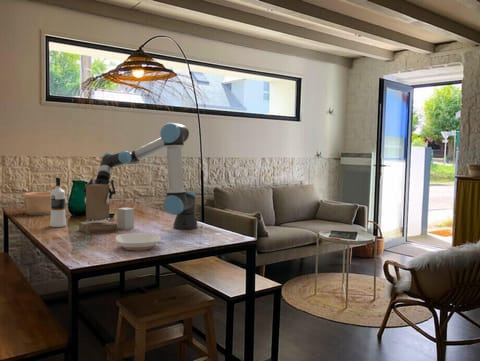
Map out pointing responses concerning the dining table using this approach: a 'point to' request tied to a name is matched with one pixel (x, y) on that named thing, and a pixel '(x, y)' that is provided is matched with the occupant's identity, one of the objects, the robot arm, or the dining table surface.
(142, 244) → the bowl
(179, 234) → the dining table surface
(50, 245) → the dining table surface
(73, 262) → the dining table surface
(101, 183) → the robot arm
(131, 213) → the white canister
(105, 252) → the dining table surface
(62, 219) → the vodka
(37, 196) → the pottery
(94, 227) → the plinth
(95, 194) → the block
